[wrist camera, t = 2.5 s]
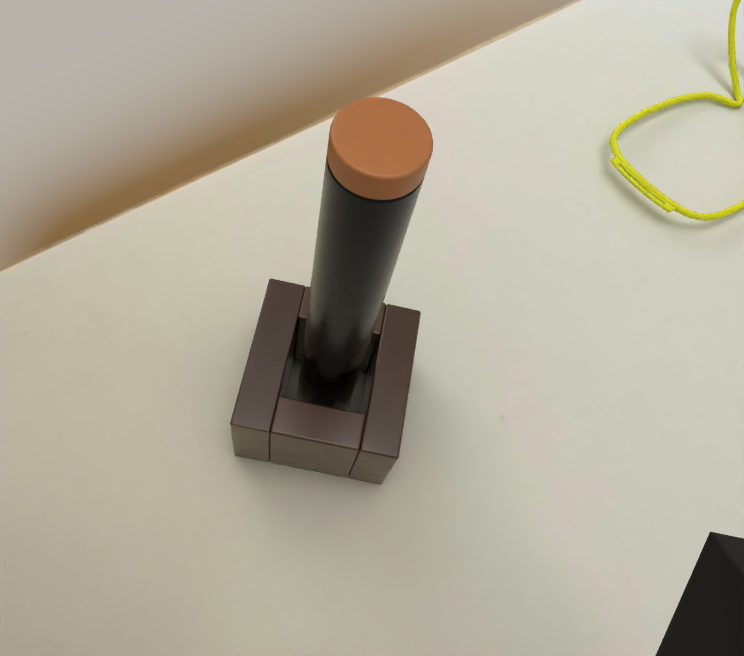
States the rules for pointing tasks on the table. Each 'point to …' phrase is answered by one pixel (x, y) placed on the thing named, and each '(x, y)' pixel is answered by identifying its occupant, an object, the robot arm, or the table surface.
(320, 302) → the black orange-capped rod
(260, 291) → the table surface
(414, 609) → the table surface
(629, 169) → the glasses
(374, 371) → the pen holder
